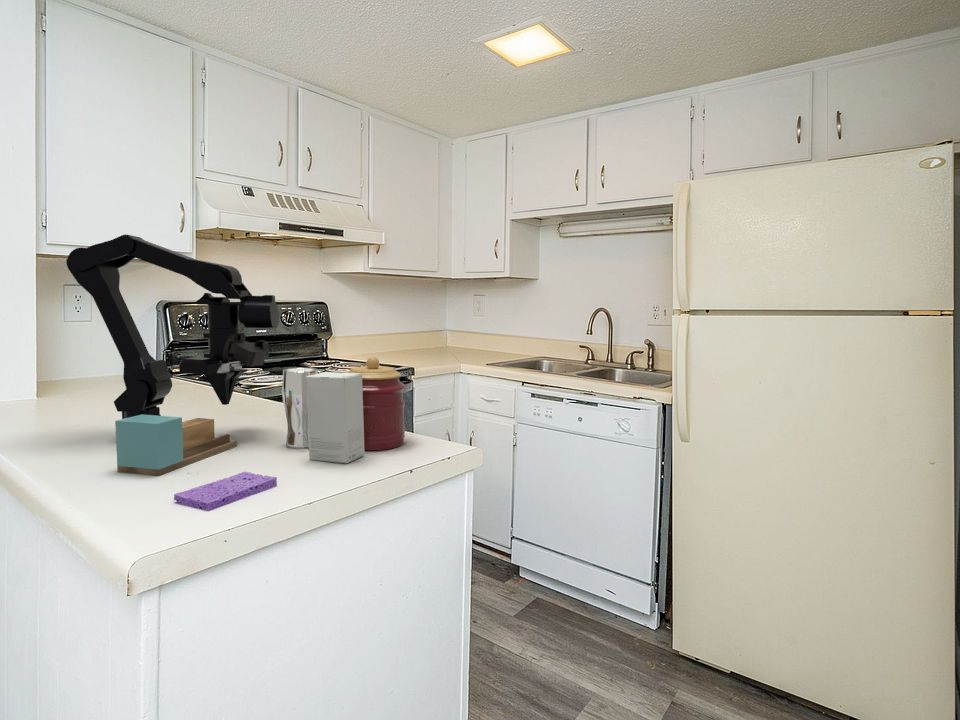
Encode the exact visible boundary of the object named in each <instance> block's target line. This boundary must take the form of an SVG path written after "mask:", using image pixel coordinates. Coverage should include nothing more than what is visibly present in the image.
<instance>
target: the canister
mask: <svg viewBox="0 0 960 720" xmlns="http://www.w3.org/2000/svg"><path fill="white" fill-rule="evenodd" d="M365 365H366V366H362V365H361V366H355V367H351V369H350V370H348V371H347V372H345V373H361V374H362V389H363V420H364V451H383V450H390V449H394V448H398V447H399V446H401V445H403V443H404V441H405V437H406V435H405V432H406V431H405V404H406V402H405V399H404V397H403V396H404V395H403V394H404V393H403V391H404V390H405V388H406V385H405V384H404V383H403V382H402V381H401V380H400V377H401V376H402V374H401V373H400V372H399V371H397V370H396V369H395V368H394V367H390V366H384V365H383V366H381V365H380V360H379V358H378V357H376V356H370V357H368V358H367V359H366V362H365Z"/></svg>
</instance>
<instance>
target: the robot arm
mask: <svg viewBox="0 0 960 720" xmlns="http://www.w3.org/2000/svg"><path fill="white" fill-rule="evenodd" d="M135 259H138V260H141V261H143V262H145V263H146V262H147V263H149V264H151V265H155V266H156V267H160V268H163V269H165V270H167V271H170V272H173V273H176V274H179V275H182V276H183V277H186V278H188V279H189V280H191V281H192V282H193V283H194V284H196V285H198V286H200V287H201V288H202V289H204V290H207V291H208V292H204V293H203V295H202V296H201V297H200V298H199V299H197V300H196V301H195V303H196V305H197V306H198V305H201V306H203V305H204V306H207V330H208V331H207V332H203V339H208V352H206V353H205V352H204V353H203V357H202V356H201V357H198V356H194V357H185V358H182V359H181V360H180V362H179V363H178V366H179V367H178V368H179V369H178V370H179V371H178V373H179V374H182V375H183V374H184V375H203V376H204V377H205V378H206V380H207V381H208V382H209V384H210V385H211V387H212V388H213V391H214V392H215V394H216V396H217V398H218V400H219V401H220V404H221V405H223V406H224V405H225V406H226V405H229V404H230V402H231V399H232V395H233V392H234V389H235V386H236V384H237V381H238V379H239V378H240V377H241V376H242V375H243V374H244V373H247V372H248V369H247V368H246V369H244V368H243V365H244V366H246V367H251V368H253V367H260V366H262V367H263V366H265V358H269V357H270V353H269V352H270V347H269V342H268V341H266V340H257V341H255V342H249V341H246V335H245V332H240V324H243V326H244V327H245V328H246V329H265V330H266V329H267V330H269V329H271V330H276V329H277V328H278V326H279V321H280V320H279V319H280V311H279V310H278V309H279V308H278V305H277V301H276V296H275V294H264V295H252V293H251V292H250V290H249V289H248V288H247V287H246V285H245V284H244V282H243V279H242V275H241V273H240V271H239V270H238V268H236V267H234V266H231V265H227V264H226V265H225V264H220V263H217V262H209V261H205V260H199V259H196V258H193V257H191V256H188V255H185V254H183V253H180V252H177V251H175V250H171V249H169V248H166V247H163V246H161V245H159V244H156V243H154V242H153V243H152V242H150V241H148V240H145V239H143V238H142V237H140V236H135V235H131V234H122V235H120V236H118V237H115V238H113V239H110V240H107V241H103V242H100V243H96V244H92V245H90V246H88V247H77V248H75V249H73V250H71V251H70V253H68V257H67V258H66V260H65V261H66V263H65V264H66V268H67V270H68V272H70V274H71V275H72V276H73V278H74V280H75V281H76V283H77V284H79V286H81V288H83V289H84V290H85V291H86V292H87V293H88V294H90V296H91V297H92V298H93V300H94V303H95V304H96V307H97V309H98V310H99V314H100V315H101V317H102V320H103V322H104V324H105V326H106V327H107V330H108V332H109V335H110V337H111V338H112V341H113V343H114V346H115V347H116V349H117V352H118V353H119V356H120V357H121V359H122V362H123V363H122V364H123V376H122V377H123V378H122V379H123V382H124V385H125V390H124V391H123V392H122V393H120V394H119V396H117V398H115V400H114V401H113V404H114V406H115V409H116V411H117V412H121V419H125V418H129V417H133V416H138V415H142V414H143V415H156V416H162V415H161V411H160V409H161V407H160V406H159V405H162V404H163V403H164V402H165V399H166V396H168V394H169V393H170V392H171V391H172V387H173V380H172V378H174V375H173V374H172V373H171V372H170V370H169V368H168V365H167V362H166V360H165V359H160V360H159V359H158V360H156V359H155V358H154V357H153V356H152V355H151V354H150V352H149V350H148V348H147V346H146V344H145V342H144V339H143V338H142V335H141V333H140V331H139V329H138V327H137V325H136V323H135V321H134V318H133V316H132V313H131V312H130V310H129V308H128V305H127V303H126V301H125V299H124V297H123V295H122V293H121V291H120V282H121V281H120V279H121V275H120V271H119V269H120V268H122V267H125V266H127V265H128V264H129V263H130V262H132V261H133V260H135ZM212 294H219V295H220V294H221V295H222V296H213V295H212ZM231 300H239V301H240V302H232V301H231Z"/></svg>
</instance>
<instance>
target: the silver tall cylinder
mask: <svg viewBox="0 0 960 720" xmlns="http://www.w3.org/2000/svg"><path fill="white" fill-rule="evenodd" d="M315 374H319V370H318V368H315V367H290V368H285V369H283V370H282V381H281V382H282V385H281V387H282V389H281V390H282V392H281V394H282V395H281V396H282V403H283V408H284V412H285V420H286V423H287V424H286V425H287V433H286V440H285V446H286V447H288V448H290V449H306V448H309V437H308V414H307V392H306V376H310V375H315Z"/></svg>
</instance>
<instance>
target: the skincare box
mask: <svg viewBox="0 0 960 720" xmlns="http://www.w3.org/2000/svg"><path fill="white" fill-rule="evenodd" d="M306 392H307V414H308V437H309V447H308V455H309V456H308V457H309V460H310V461H319V462H329V463H331V462H332V463H341V464H349V463H351V462H353V461H355V460H357V459H359V458H362V457H363V456H364V455H365V451H366V450H364V420H363V389H362V374H361V373H346V372H335V371H334V372H333V371H325V372H324V371H323V372H318V374H315V375H310V376H306Z"/></svg>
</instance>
